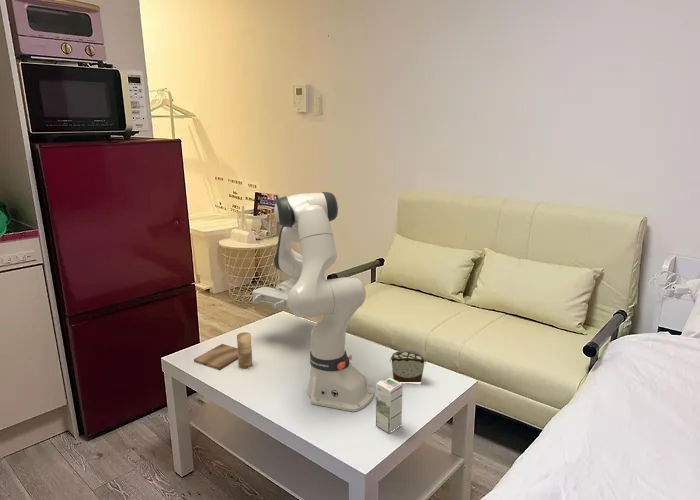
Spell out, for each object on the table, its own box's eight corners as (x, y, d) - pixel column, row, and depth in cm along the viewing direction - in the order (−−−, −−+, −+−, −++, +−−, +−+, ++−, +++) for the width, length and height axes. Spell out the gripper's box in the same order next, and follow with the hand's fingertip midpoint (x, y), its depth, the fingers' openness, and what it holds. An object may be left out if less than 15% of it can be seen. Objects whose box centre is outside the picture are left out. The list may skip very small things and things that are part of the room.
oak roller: (255, 363, 188) (253, 334, 184) (246, 369, 183) (244, 339, 180) (244, 360, 190) (243, 331, 187) (235, 366, 186) (233, 336, 183)
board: (247, 353, 196) (247, 351, 195) (220, 370, 183) (219, 367, 183) (222, 346, 202) (222, 343, 202) (194, 361, 189) (193, 359, 189)
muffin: (424, 375, 179) (425, 350, 177) (425, 384, 174) (426, 358, 171) (389, 374, 181) (390, 348, 178) (389, 382, 175) (389, 356, 172)
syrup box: (402, 426, 151) (403, 382, 147) (389, 434, 147) (390, 390, 143) (387, 418, 155) (389, 375, 151) (374, 426, 151) (375, 382, 147)
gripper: (264, 280, 207) (242, 291, 196) (306, 289, 198) (285, 301, 186) (265, 295, 209) (243, 306, 198) (306, 304, 200) (285, 317, 188)
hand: (263, 303), depth 192 cm, fingers open, 8 cm apart
